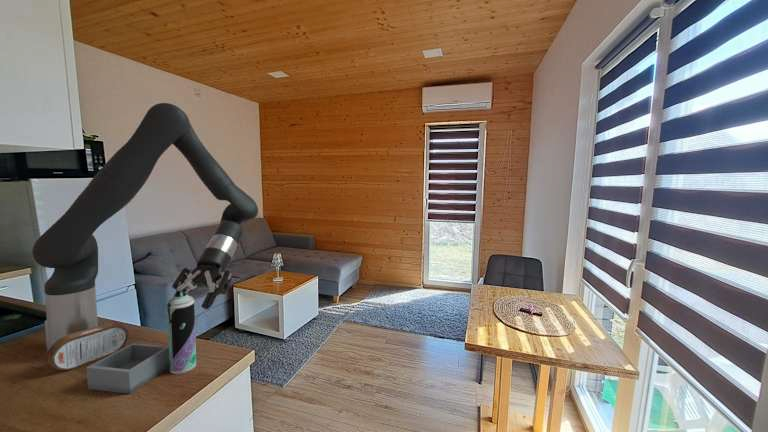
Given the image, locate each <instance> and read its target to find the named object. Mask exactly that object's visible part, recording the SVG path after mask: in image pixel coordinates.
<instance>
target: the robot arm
mask: <svg viewBox="0 0 768 432" xmlns="http://www.w3.org/2000/svg"><path fill="white" fill-rule="evenodd" d="M171 145H173V146H174V147H175V148H176V149H178V151H179V152H180V153H181V154H182V156H183V157H184V158H185V159H186V161H187V162H188V163H189V164H190V166H191V167H192V169H193V171H194V172H195V173H196V175H197V176H198V178H199V179H200V180H201V182H202V183H203V185H204V186H205V187H206V188H207V190H208V191H209V192H210V194H212V195H213V197H214V198H215V199H216V200H218V201H226V202H229V203H230V204H228V205H227V206H226V207H225V208H224V210H223V212H222V215H221V219H220V222H219V226H218V228H217V229H216V231H215V233H214V234H213V235H212V238H211V239H210V240H209V241H208V243H207V245H206V246H205V248H204V250H203V252H202V253H201V254H200V257H199V258H198V260H197V263H196V267H195V268H194V269H189V268H187V267H184V268H183V269H182V271H181V272H180V273H179V275H178V276H177V277H176V279H175V281H174V282H173V284H172V286H171V287H172V288H173V289H174V290H175V291H180V290H185V293H186V294H188V292H190V291H191V290H194V289H195V288H197V287H200V288H201V287H204V288H208V290H209V292H208V293H207V294H206V296H205V298H204V299H203V300H204V301H202V304H201V308H202V309H204V310H209V309H210V308H211V307H212V306H213V305H214V302H215V300H216V298H217V297H218V296H219V295H222V296H224V295H226V293H228V292H227V291H228V289H229V287H230V285H231V282H232V279H233V276H234V275H233V274H232V273H231V271H229V270H227V268H228V266H229V265H230V263H231V260H232V258H233V256H234V254H235V252H236V249H237V247H238V244H239V242H240V241H241V238H242V236H243V234H244V228H243V226H242V224H243V223H244V222H248V221H251V220H253V219H255V218H256V217H257V216H258V213H259V207H258V205H257V203H256V201H255V199H253V198H252V196H250V195H249V194H247V193H246V192H245V191H244V190H242V189H241V188H240V187H239V186H238V185H236V184H235V182H234V181H233V180H232V178H231V176H229V175H228V174H227V172H226V171H225V169H224V168H223V167H222V166H221V165H220V163H219V162H218V161H217V160H216V159H215V158H214V157H213V155H212V154H211V153H210V152H209V151H208V149H207V148H206V147H205V145H204V144H203V143H202V141H201V140H200V138H199V136H198V135H197V133H196V132H195V129H194V128H193V126H192V124H191V122H190V118H189V116H188V115H187V114H186V112H185V111H183V110H182V108H180V107H179V106H177V105H175V104H172V103H168V102H160V103H156V104H154V105H153V106H151V107H150V108H149V109H148V110H147V112H146V113H145V115H144V117H143V119H142V120H141V122H140V123H139V125H138V127H137V128H136V129H135V131H134V133H133V134H132V136H131V137H130V138H129V139H128V141H127V142H125V143H124V144H123V146H122V147H120V148H119V150H117V151H116V152H115V153H114V154H113V156H112V157H110V158H109V159H108V161H106V163H105V164H104V165H103V166H102V167H101V168H100V170H99V171H98V172H97V173H96V174H95V175H94V176H93V178H92V179H91V180H90V182H89V183H88V184H87V186H86V187H85V188H84V190H82V192H80V194H79V195H78V197H76V199H75V200H74V201H73V203H72V204H71V205H70V206H69V208H68V209H67V210H66V211H65V212H64V214H62V215H61V216H60V217H59V218H58V220H56V221H55V222H54V223H53V224H52V225H51V226H50V227H49V228H48V229H47V230H45V232H43V233H42V234H41V235H40V236H39V238H37V240H36V241H35V242H34V244H33V247H32V251H31V253H32V257H33V260H34V261H35V262H36V263H37V264H38V265H39V266H41V267H44V268H48V269H54V270H53V272H52V275H50V277H49V278H48V279H47V280H46V282H45V283H44V286H43V288H44V289H43V290H44V301H45V310H46V311H45V313H46V320H45V321H44V333H45V343H46V353H47V352H48V350H49V348H50V347H51V346H52V345H53V344H54V343H55V342H56V341H57V340H59V339H60V338H62V337H64V336H66V335H69V334H72V333H76V332H79V331H83V330H86V329H90V328H93V327H97V326H99V323H98V322H99V321H98V309H97V308H98V307H97V293H96V292H97V291H96V278H97V277H98V274H99V246H98V241H97V239H96V237H95V236H94V233H95V231H97V229H98V228H99V227H100V226H101V225H103V224H104V223H105V222H106V221H108V220H109V219H110V218H111V217H113V216H114V215H116V214H117V213H118V212H120V211H121V210H122V209H123V208H124V207H126V206H127V205H128V204H129V203H130V202H131V201H132V200H133V199H134V198H135V197H136V195H137V194H138V193H139V192H140V190H141V189H142V188H143V187H144V185H145V183H146V182H147V181H148V179H149V177H151V176H150V175H151V174H152V172H153V171H154V168H155V166H156V164H157V162H158V161H159V159H160V158H161V156H162V155H163V154H164V153H165V152H166V150H168V149H169V148H170V147H171ZM220 279H221V280H220ZM219 280H220V282H219V283H218V281H219ZM175 294H176V292H175V293H174V295H173V297H172V298H174V296H175Z"/></svg>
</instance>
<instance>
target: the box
mask: <svg viewBox="0 0 768 432" xmlns="http://www.w3.org/2000/svg"><path fill="white" fill-rule="evenodd" d="M168 368H170V361H169V345H158V344H148V343H147V344H146V343H139V342H138V343H137V342H132V343H130V344H128V345H126V346H123V347H122V348H121V349H120V350H119V351H117V352H115V353H113V354H111V355H109V356H107V357H104V358H101V359H99V360H97V361H96V362H94V363H92V364H91V365H88V366H87V367H86V379H87V380H86V381H87V389H89V390H95V391H103V392H111V393H112V392H113V393H121V394H126V395H127V394H128V395H129V394H133V393H134V392H135V391H137V390H138V389H139V388H141V387H142V386H144V385H145V384H147V383H148V382H149V381H151V380H152V379H154V378H155V377H157V376H158V375H160V374H161V373H162V372H164V371H165V370H167V369H168Z"/></svg>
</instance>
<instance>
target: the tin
mask: <svg viewBox="0 0 768 432" xmlns="http://www.w3.org/2000/svg"><path fill="white" fill-rule="evenodd" d="M128 338H129V332H128V329H127V328H126V327H124V326H123V325H122V324H121V323H118V322H107V323H105V324H101V325H98V326H97V327H93V328H90V329H86V330H83V331H79V332H76V333H72V334H69V335H66V336H64V337H62V338H60V339H59V340H57V341H56V342H55V343H54V344H53V345H52V346H51V347H50V348H49V350H48V352H47V351H46V357H45V358H46V362H47V364H48V365H49V366H50V367H52V368H53V369H54V370H58V371H70V370H74V369H76V368H77V369H78V368H79V367H82V366H85V365H87V364H90V363H92V362H95V361H96V362H97V361H100V360H102V359H104V358H105V357H107V356H109V355H111V354H113V353H115V352H117V351H119V350H121V349H122V348H124V347H125V345H126V344H127V341H128V340H129V339H128Z"/></svg>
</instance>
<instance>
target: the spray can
mask: <svg viewBox="0 0 768 432" xmlns="http://www.w3.org/2000/svg"><path fill="white" fill-rule="evenodd" d="M175 291H176V292H175V293H176V294H175V293H174V295H175V296H174V295H173V297H174V298H173V297H172V298H171V299H169V300H167V305H166V306H167V308H166V309H167V310H166V311H167V328H168V329H167V330H168V331H167V333H168V334H167V335H168V346H169V361H170V366H169V372H170V374H173V375H181V374H185V373H189V371H191V370H193V369H194V368H195V367H196V366H197V349H196V348H197V346H196V345H197V344H196V343H197V342H196V321H195V319H196V315H195V314H196V313H195V299H194V297H193V296H191V295H189V294H188V293H185V290H180V291H177V290H175Z"/></svg>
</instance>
